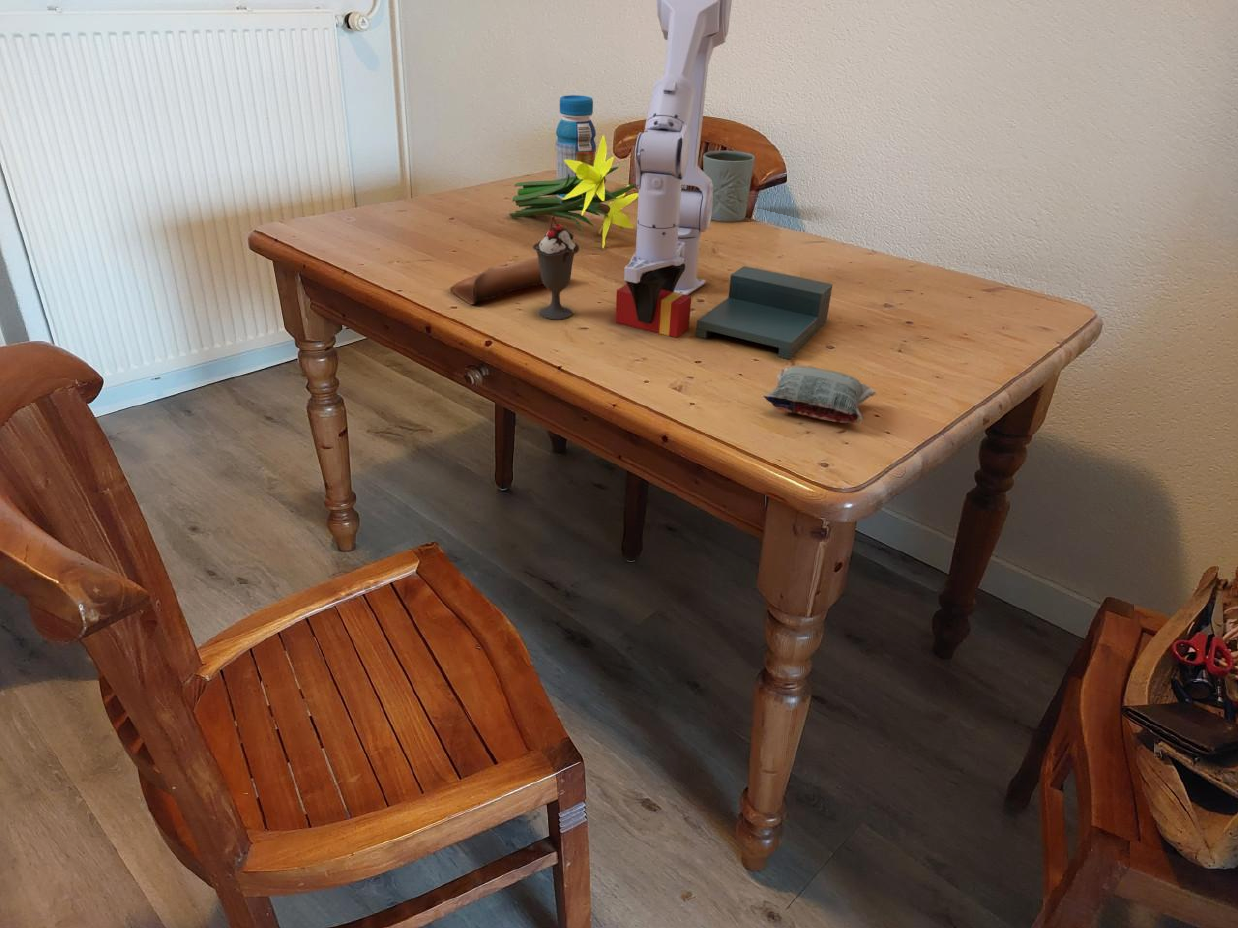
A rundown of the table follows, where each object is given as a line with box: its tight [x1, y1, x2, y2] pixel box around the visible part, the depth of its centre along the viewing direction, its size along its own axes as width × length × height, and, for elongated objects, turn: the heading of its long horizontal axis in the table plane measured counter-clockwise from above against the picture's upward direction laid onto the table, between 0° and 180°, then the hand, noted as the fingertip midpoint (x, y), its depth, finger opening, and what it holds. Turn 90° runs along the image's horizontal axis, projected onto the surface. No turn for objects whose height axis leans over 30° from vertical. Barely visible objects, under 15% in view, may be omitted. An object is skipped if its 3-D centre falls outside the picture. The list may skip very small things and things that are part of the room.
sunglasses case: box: [449, 257, 544, 306], centre depth 137 cm, size 18×7×7 cm, turn 132°
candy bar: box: [615, 283, 692, 338], centre depth 125 cm, size 10×4×5 cm, turn 60°
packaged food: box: [763, 365, 877, 424], centre depth 104 cm, size 9×12×5 cm
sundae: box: [531, 216, 580, 321], centre depth 125 cm, size 7×7×15 cm
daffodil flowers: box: [509, 134, 639, 248], centre depth 160 cm, size 17×15×35 cm
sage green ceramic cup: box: [702, 150, 756, 223], centre depth 175 cm, size 10×10×12 cm
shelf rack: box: [695, 265, 833, 360], centre depth 125 cm, size 14×16×6 cm
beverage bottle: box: [554, 94, 597, 200], centre depth 181 cm, size 8×8×20 cm
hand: (652, 316), depth 126 cm, fingers closed on candy bar, 4 cm apart
